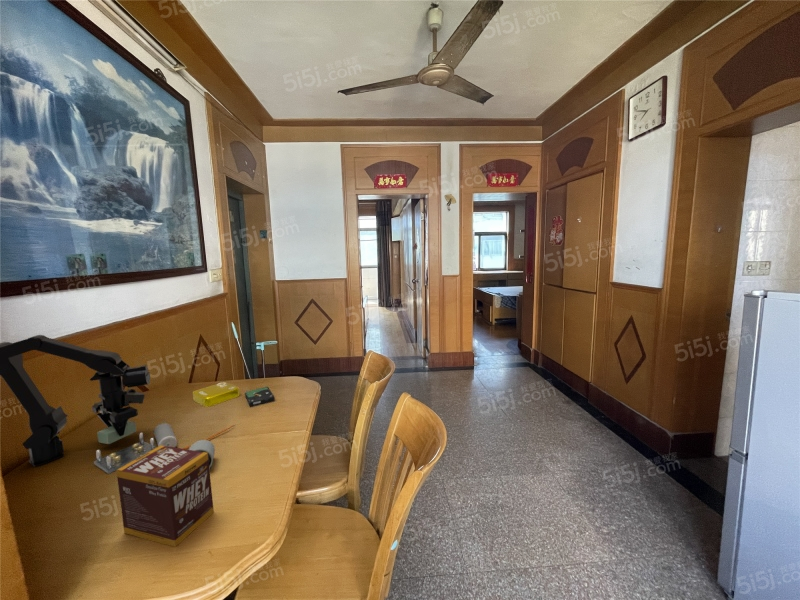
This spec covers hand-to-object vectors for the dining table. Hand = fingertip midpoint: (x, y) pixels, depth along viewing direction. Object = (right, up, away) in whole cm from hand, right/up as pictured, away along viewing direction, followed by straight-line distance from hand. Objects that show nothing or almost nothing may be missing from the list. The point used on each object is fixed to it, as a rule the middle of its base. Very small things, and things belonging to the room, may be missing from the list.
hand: (117, 433), depth 112 cm
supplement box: (+43, -7, -35) cm, 56 cm away
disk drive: (+34, +1, +35) cm, 49 cm away
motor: (+23, -3, +7) cm, 24 cm away
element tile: (+13, 0, +38) cm, 40 cm away
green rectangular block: (0, -1, 0) cm, 1 cm away
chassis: (+10, -4, -8) cm, 14 cm away
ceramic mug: (+36, -5, -15) cm, 40 cm away
